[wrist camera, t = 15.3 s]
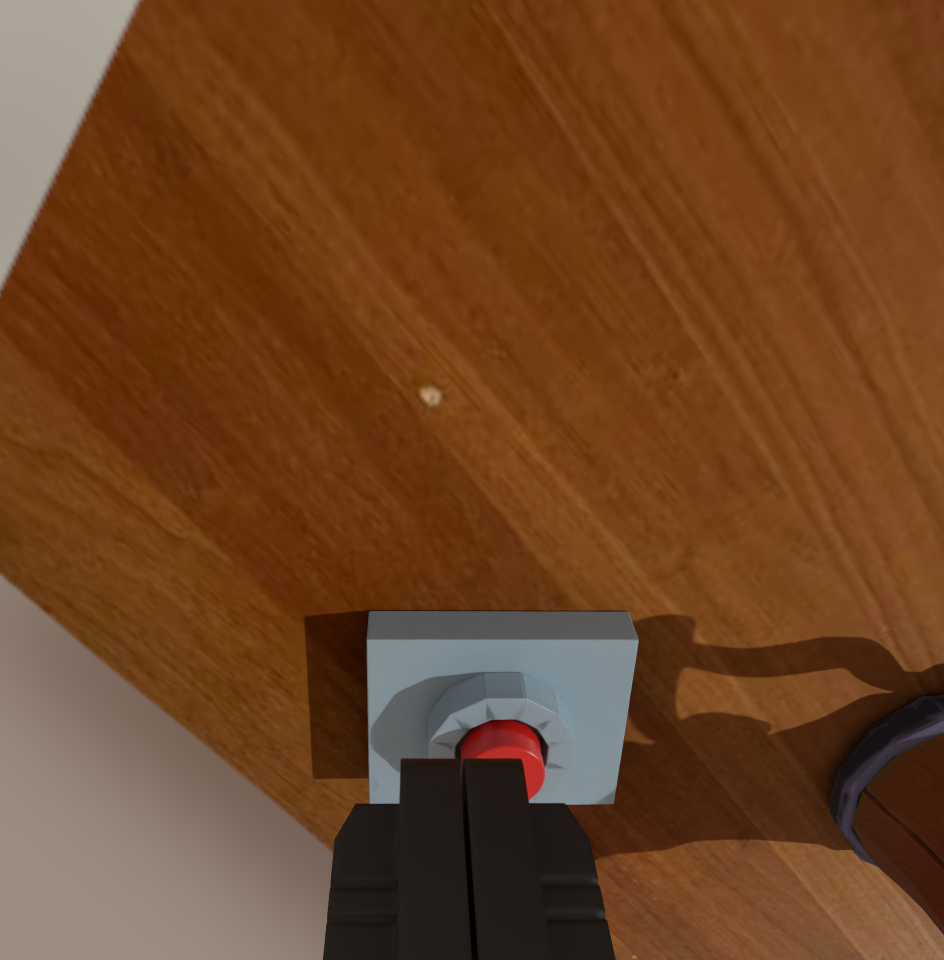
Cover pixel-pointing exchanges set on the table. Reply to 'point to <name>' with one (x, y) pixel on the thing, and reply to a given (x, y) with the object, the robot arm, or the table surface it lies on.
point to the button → (508, 748)
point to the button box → (501, 692)
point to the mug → (899, 801)
